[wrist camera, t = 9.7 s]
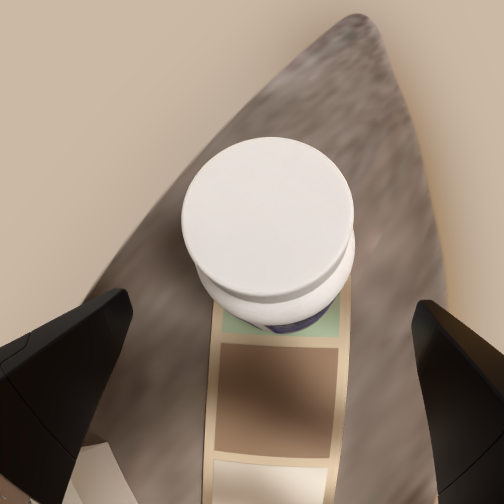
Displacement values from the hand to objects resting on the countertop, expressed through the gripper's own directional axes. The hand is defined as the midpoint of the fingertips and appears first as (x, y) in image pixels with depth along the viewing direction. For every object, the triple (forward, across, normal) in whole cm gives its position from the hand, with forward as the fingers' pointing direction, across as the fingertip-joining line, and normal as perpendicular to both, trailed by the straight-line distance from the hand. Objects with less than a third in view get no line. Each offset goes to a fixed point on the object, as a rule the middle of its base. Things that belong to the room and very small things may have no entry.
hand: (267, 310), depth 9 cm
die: (-2, +12, +15) cm, 19 cm away
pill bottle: (+8, 0, +4) cm, 9 cm away
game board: (+3, 0, +9) cm, 10 cm away
